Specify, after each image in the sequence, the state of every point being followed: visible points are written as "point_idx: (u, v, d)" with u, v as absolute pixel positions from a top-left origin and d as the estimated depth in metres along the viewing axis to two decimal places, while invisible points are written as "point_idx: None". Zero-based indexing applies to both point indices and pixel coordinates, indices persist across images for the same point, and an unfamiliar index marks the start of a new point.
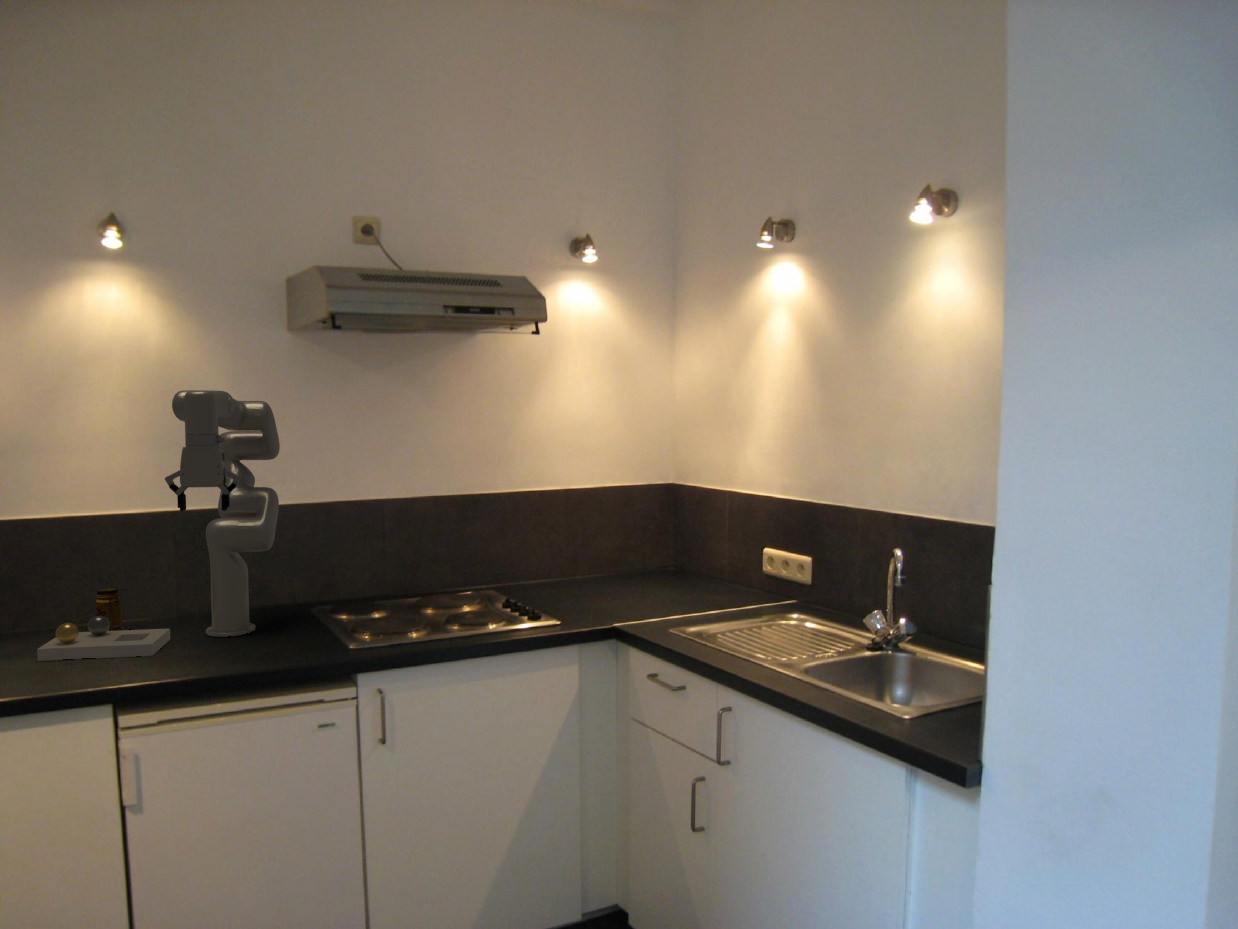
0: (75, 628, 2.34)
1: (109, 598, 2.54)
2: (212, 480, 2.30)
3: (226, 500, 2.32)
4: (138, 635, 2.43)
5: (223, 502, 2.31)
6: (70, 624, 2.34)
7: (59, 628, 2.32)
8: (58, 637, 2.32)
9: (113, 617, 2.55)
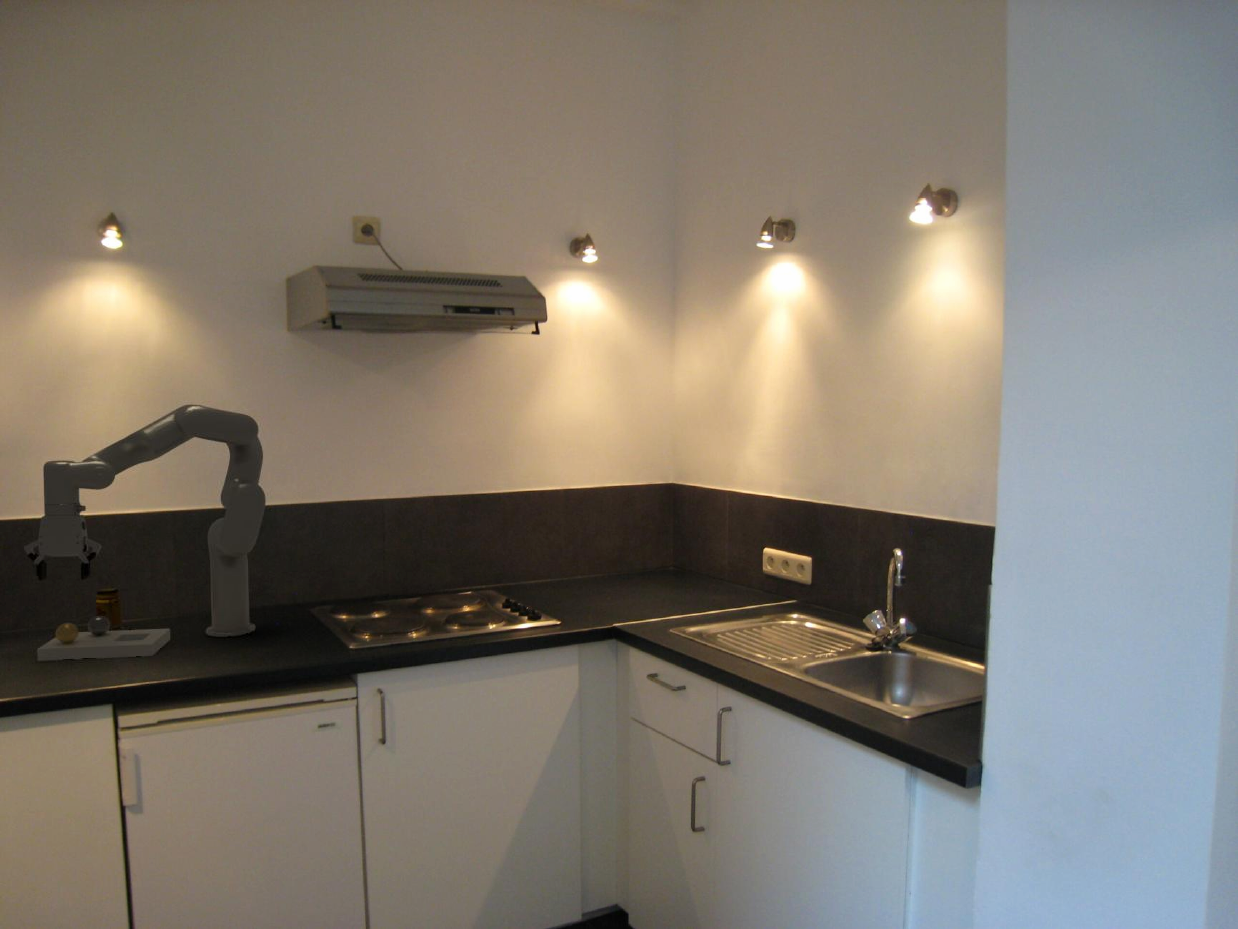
0: (75, 628, 2.34)
1: (109, 598, 2.54)
2: (70, 550, 2.31)
3: (86, 569, 2.33)
4: (138, 635, 2.43)
5: (82, 571, 2.32)
6: (70, 624, 2.34)
7: (59, 628, 2.32)
8: (58, 637, 2.32)
9: (113, 617, 2.55)
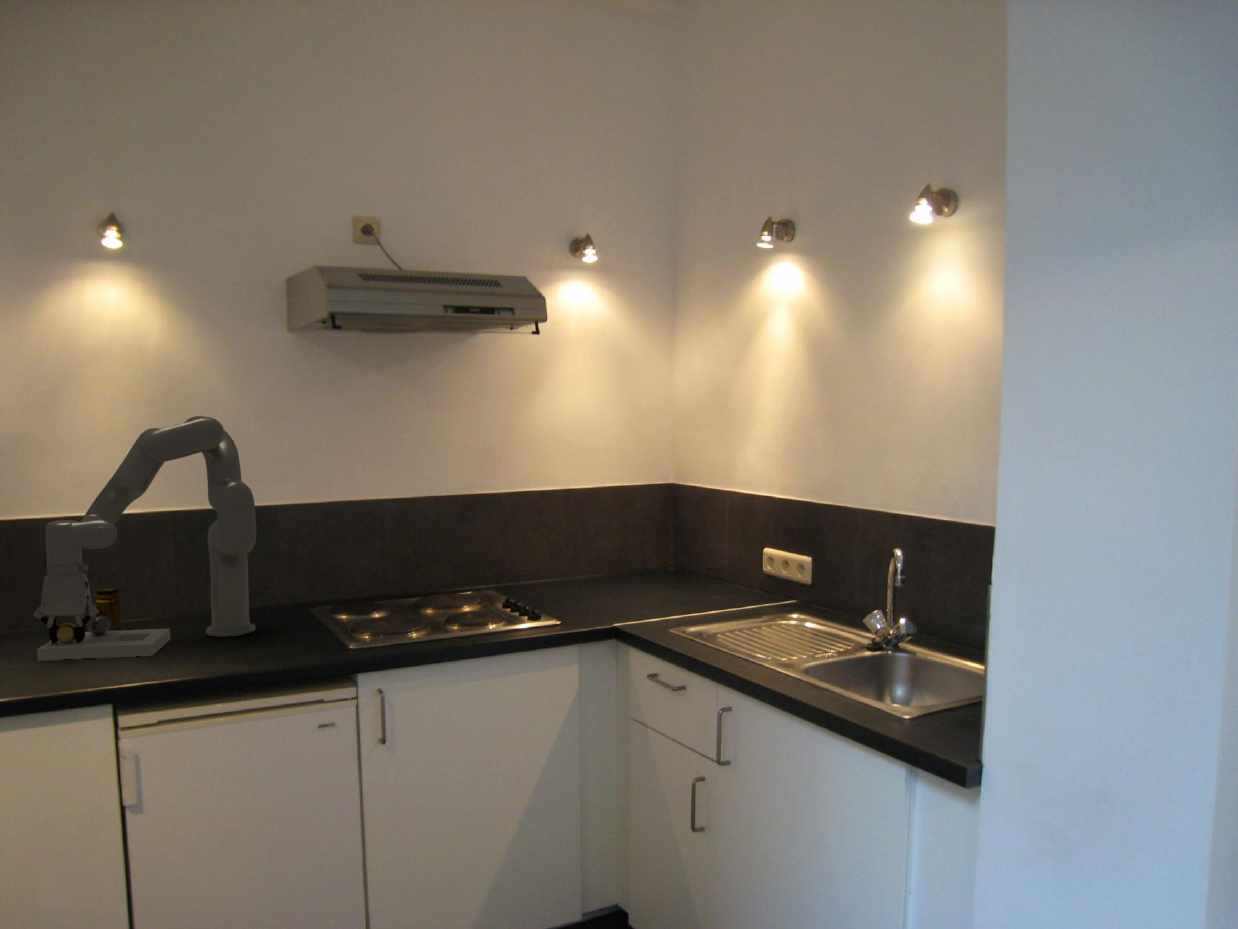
0: None
1: (109, 598, 2.54)
2: (74, 609, 2.32)
3: (80, 632, 2.34)
4: (138, 635, 2.43)
5: (77, 634, 2.33)
6: (70, 624, 2.34)
7: (59, 628, 2.32)
8: (58, 637, 2.32)
9: (113, 617, 2.55)
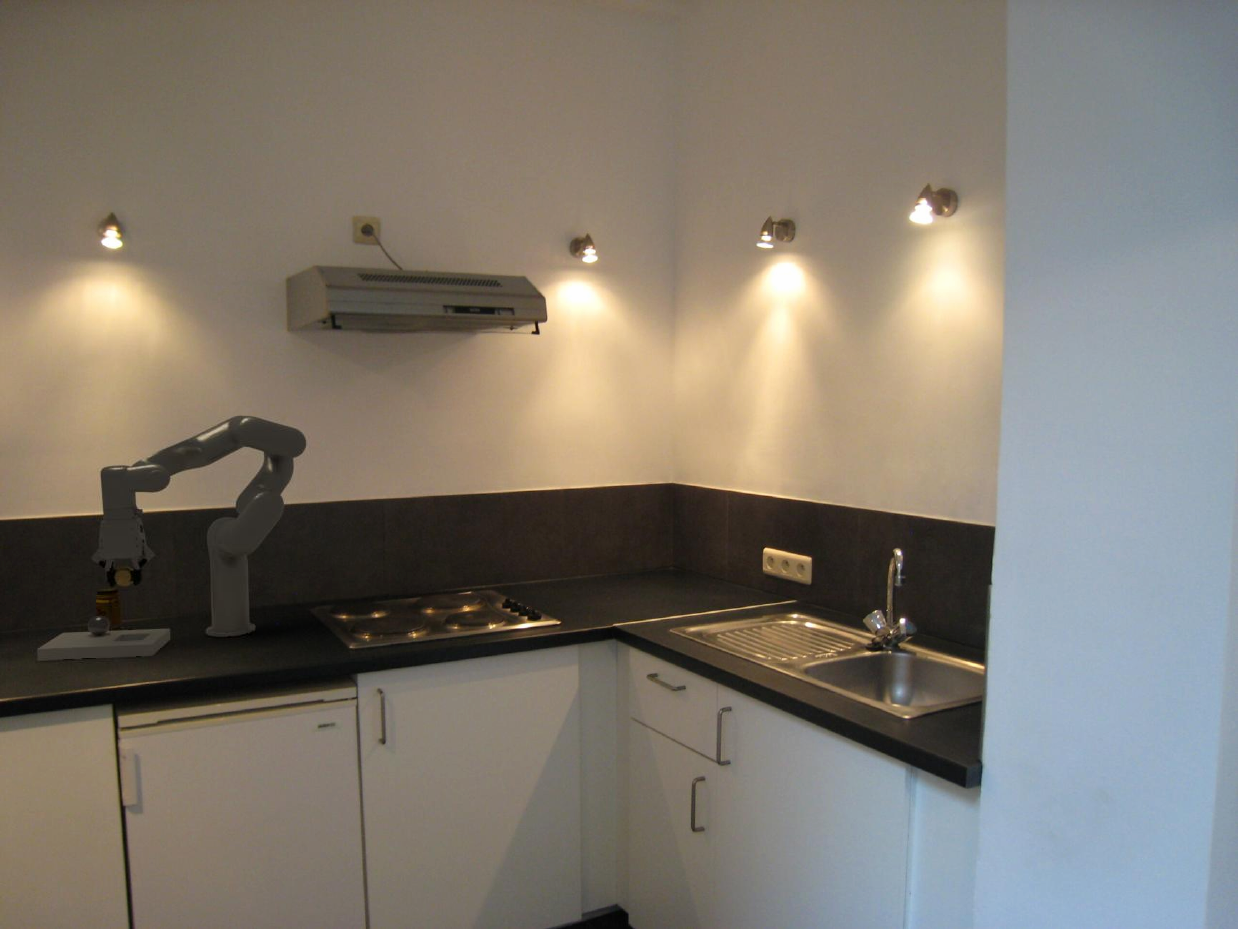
0: (132, 571, 2.38)
1: (109, 598, 2.54)
2: (130, 553, 2.36)
3: (138, 575, 2.38)
4: (138, 635, 2.43)
5: (134, 577, 2.37)
6: (127, 567, 2.38)
7: (117, 571, 2.37)
8: (116, 580, 2.36)
9: (113, 617, 2.55)
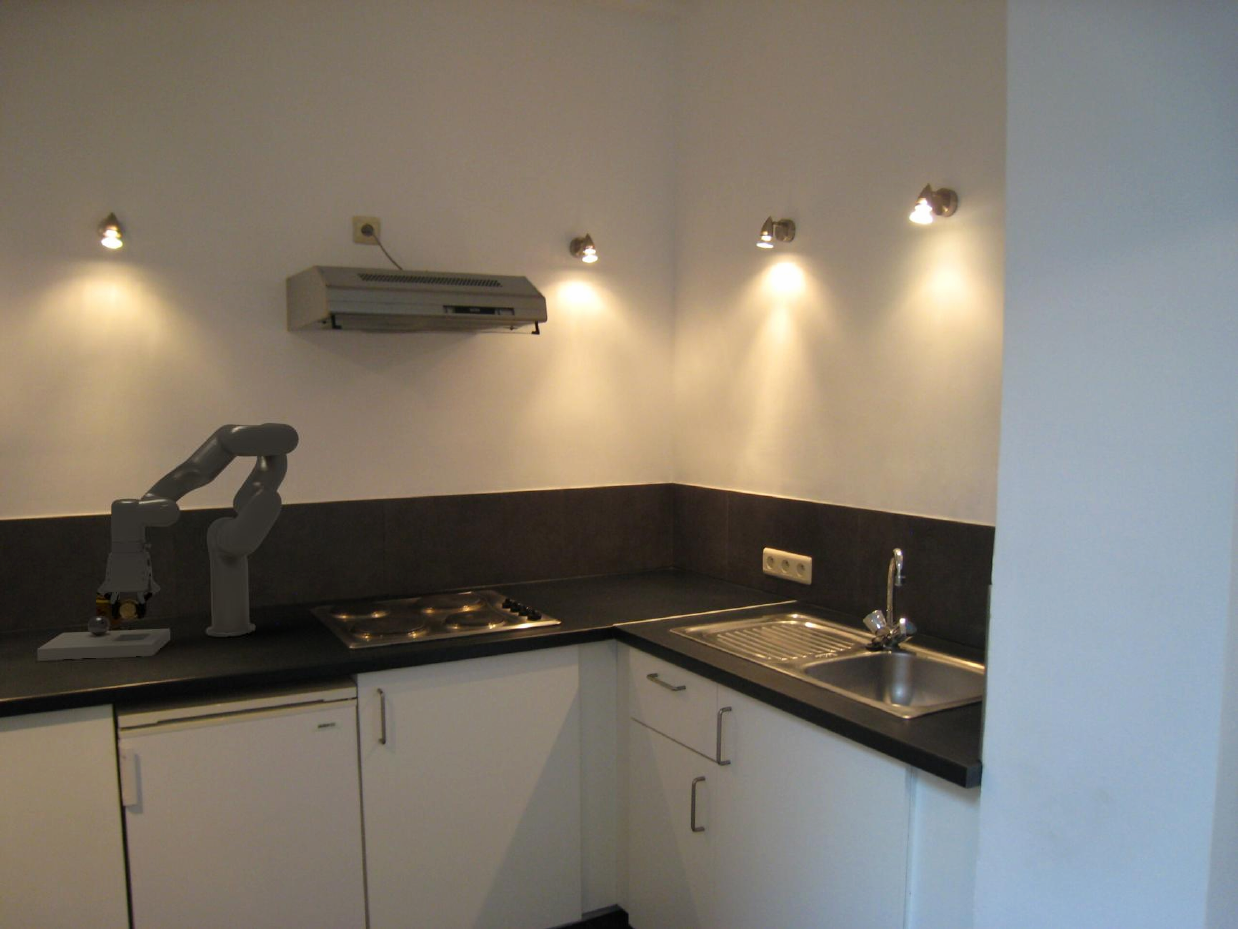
0: (137, 605, 2.39)
1: None
2: (136, 586, 2.37)
3: (142, 609, 2.39)
4: (138, 635, 2.43)
5: (139, 611, 2.38)
6: (132, 601, 2.39)
7: (122, 604, 2.37)
8: (121, 613, 2.37)
9: (113, 617, 2.55)
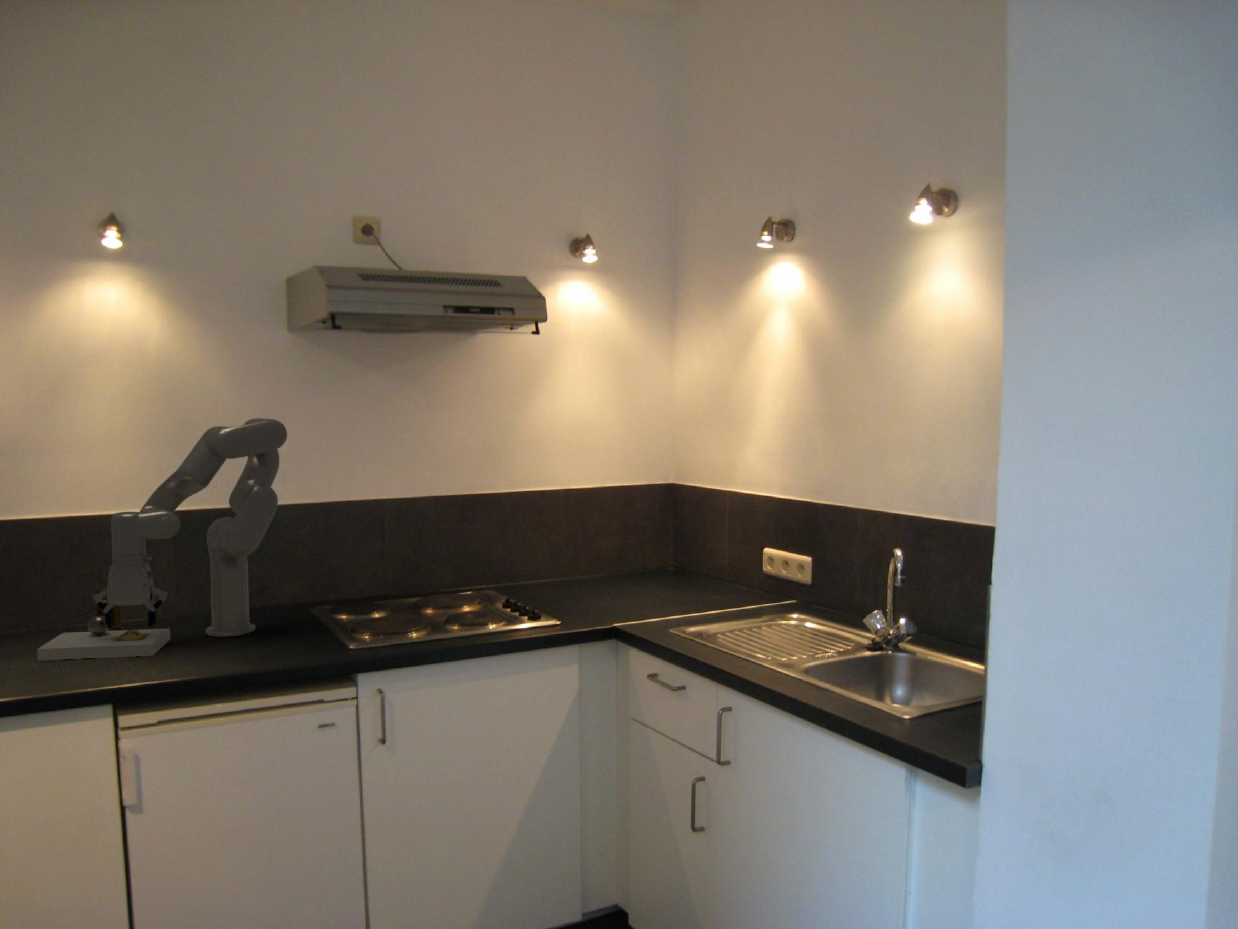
0: (140, 634, 2.40)
1: None
2: (138, 599, 2.38)
3: (153, 616, 2.40)
4: None
5: (149, 619, 2.39)
6: (135, 630, 2.40)
7: (124, 635, 2.38)
8: None
9: None
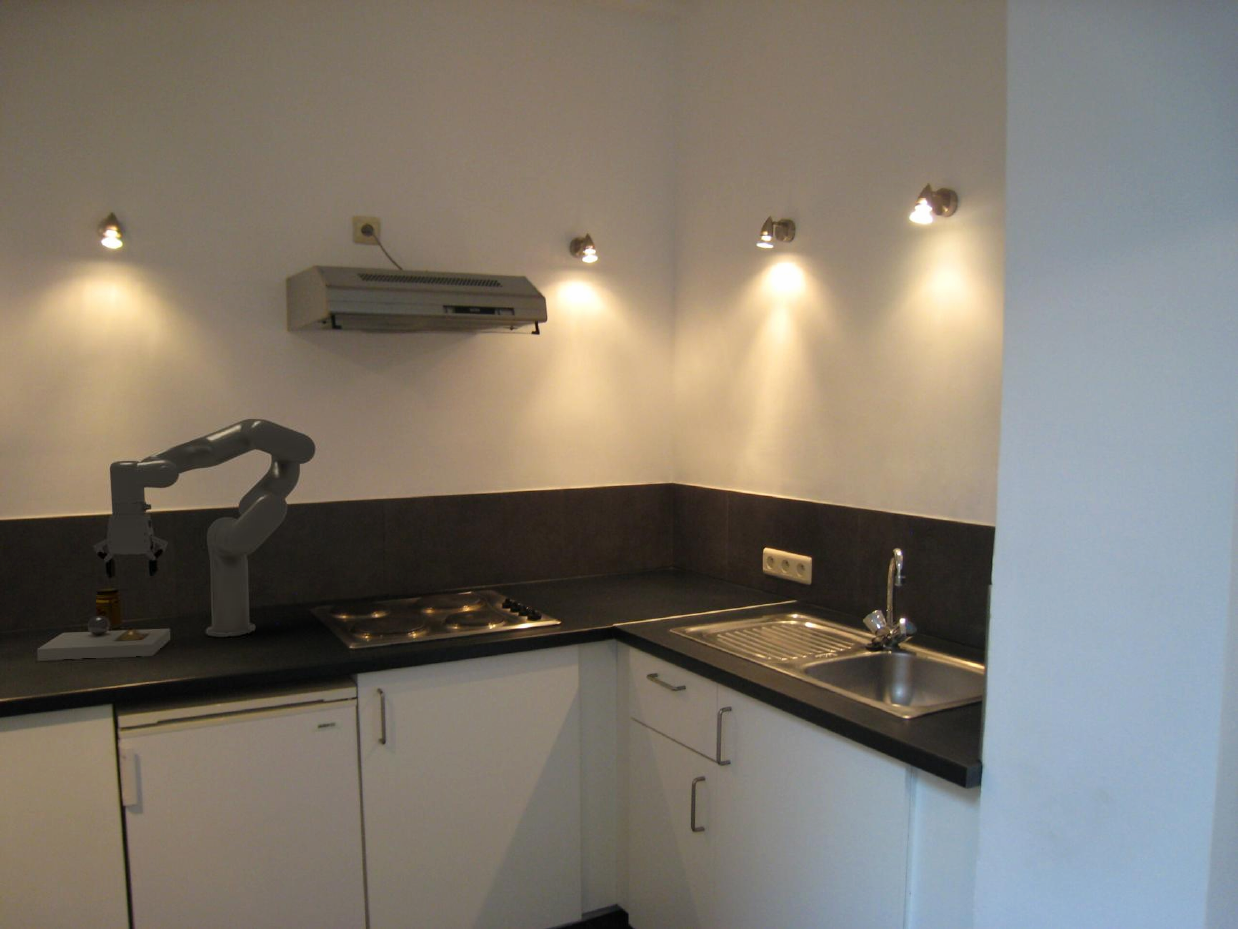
0: (139, 634, 2.40)
1: (109, 598, 2.54)
2: (139, 547, 2.37)
3: (153, 565, 2.40)
4: None
5: (150, 568, 2.39)
6: (134, 630, 2.40)
7: (124, 635, 2.38)
8: None
9: (113, 617, 2.55)
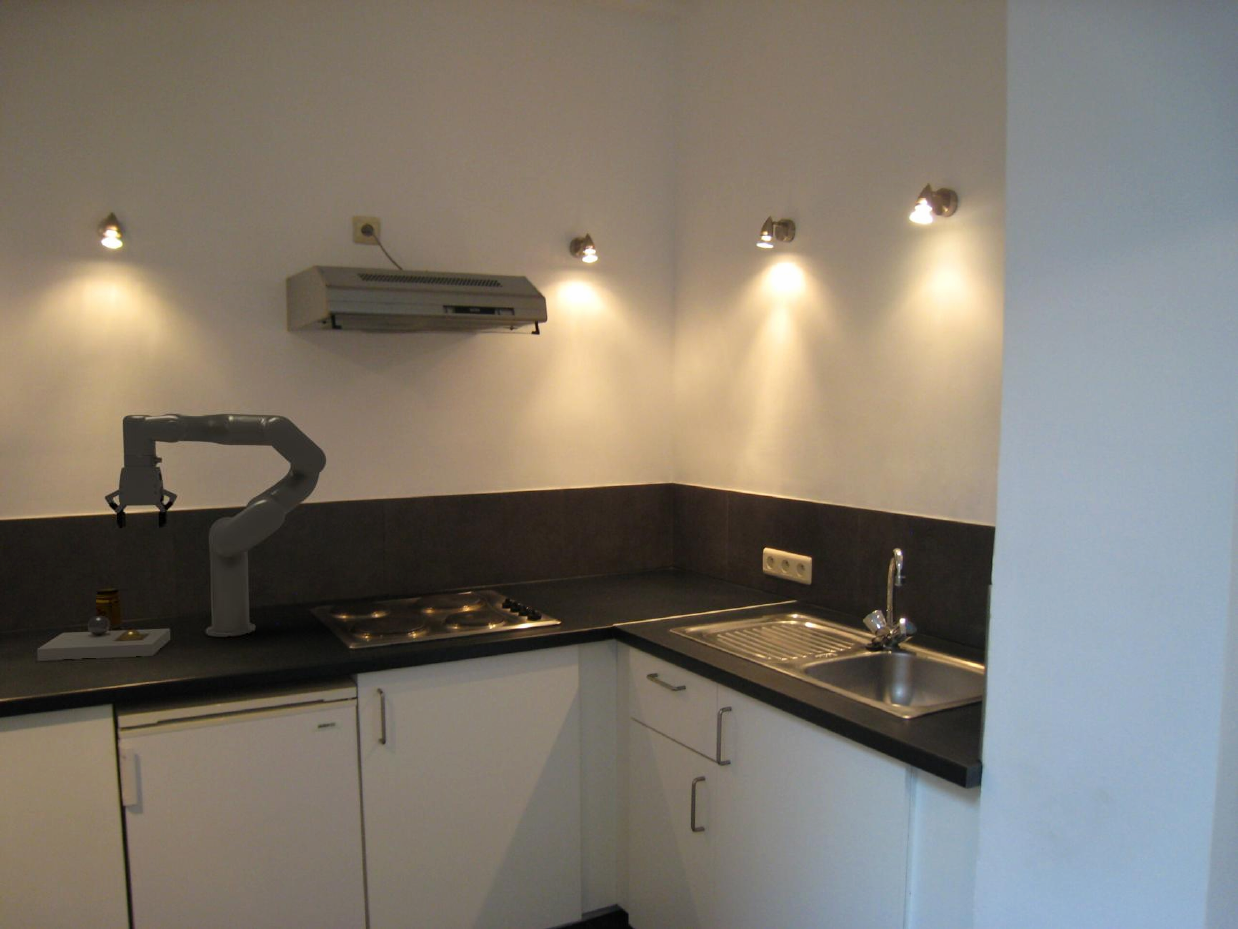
0: (138, 634, 2.40)
1: (109, 598, 2.54)
2: (149, 499, 2.44)
3: (163, 517, 2.46)
4: None
5: (160, 519, 2.45)
6: (133, 630, 2.39)
7: (123, 635, 2.38)
8: None
9: (113, 617, 2.55)
